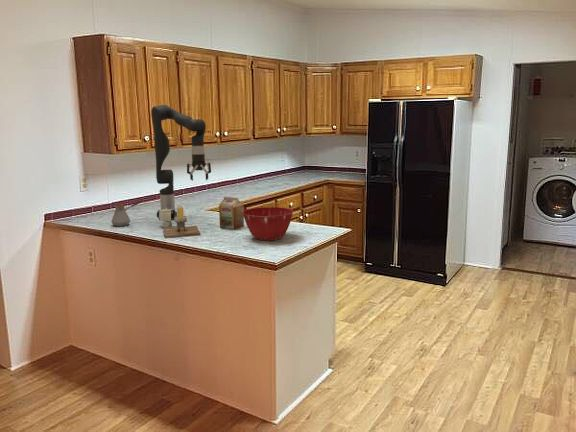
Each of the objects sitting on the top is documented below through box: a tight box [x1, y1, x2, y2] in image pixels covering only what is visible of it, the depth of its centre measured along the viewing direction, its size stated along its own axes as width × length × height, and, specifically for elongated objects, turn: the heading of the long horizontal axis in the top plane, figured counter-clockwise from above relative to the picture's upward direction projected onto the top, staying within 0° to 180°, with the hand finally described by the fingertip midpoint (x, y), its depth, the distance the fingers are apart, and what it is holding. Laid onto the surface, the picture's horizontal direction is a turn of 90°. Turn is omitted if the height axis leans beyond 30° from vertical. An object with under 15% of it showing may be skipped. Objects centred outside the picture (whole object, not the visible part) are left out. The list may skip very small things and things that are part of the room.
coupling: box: [174, 204, 188, 224], centre depth 297 cm, size 7×11×9 cm, turn 15°
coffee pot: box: [111, 199, 145, 228], centre depth 322 cm, size 21×12×15 cm, turn 120°
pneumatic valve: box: [156, 208, 178, 228], centre depth 314 cm, size 6×12×12 cm, turn 79°
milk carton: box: [218, 196, 245, 231], centre depth 309 cm, size 11×11×19 cm
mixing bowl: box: [242, 206, 294, 242], centre depth 284 cm, size 28×28×15 cm
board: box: [162, 222, 201, 239], centre depth 298 cm, size 20×20×6 cm
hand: (199, 180), depth 305 cm, fingers open, 8 cm apart
